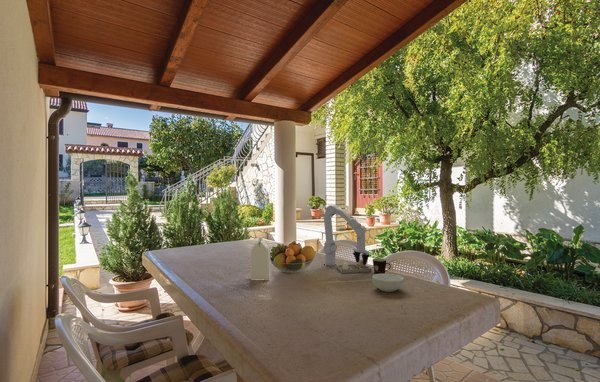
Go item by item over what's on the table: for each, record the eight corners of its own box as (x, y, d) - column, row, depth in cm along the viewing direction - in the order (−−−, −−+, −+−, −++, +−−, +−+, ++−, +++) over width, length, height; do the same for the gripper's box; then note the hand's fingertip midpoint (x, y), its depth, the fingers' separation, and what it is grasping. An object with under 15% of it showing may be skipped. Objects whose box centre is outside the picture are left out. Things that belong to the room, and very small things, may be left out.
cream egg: (341, 270, 220) (341, 261, 220) (347, 270, 221) (347, 261, 221) (343, 272, 216) (343, 263, 216) (349, 272, 217) (349, 263, 217)
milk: (269, 280, 203) (268, 238, 202) (250, 280, 203) (249, 238, 203) (271, 275, 215) (270, 235, 214) (253, 275, 215) (253, 235, 215)
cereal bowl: (405, 295, 171) (405, 281, 171) (372, 293, 174) (372, 280, 174) (402, 286, 188) (401, 273, 188) (372, 284, 191) (371, 272, 191)
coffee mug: (370, 274, 214) (370, 258, 214) (381, 273, 217) (381, 257, 217) (379, 278, 203) (379, 262, 203) (392, 277, 206) (391, 261, 206)
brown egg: (356, 267, 228) (356, 259, 228) (361, 267, 230) (361, 258, 230) (360, 269, 224) (360, 260, 224) (365, 268, 226) (365, 259, 226)
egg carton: (336, 269, 228) (336, 265, 228) (364, 268, 231) (363, 263, 231) (342, 274, 214) (342, 270, 214) (371, 273, 218) (371, 268, 218)
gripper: (349, 242, 232) (350, 262, 232) (363, 245, 219) (363, 266, 219) (357, 242, 235) (358, 261, 235) (371, 244, 222) (371, 265, 222)
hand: (361, 263), depth 227 cm, fingers open, 7 cm apart
